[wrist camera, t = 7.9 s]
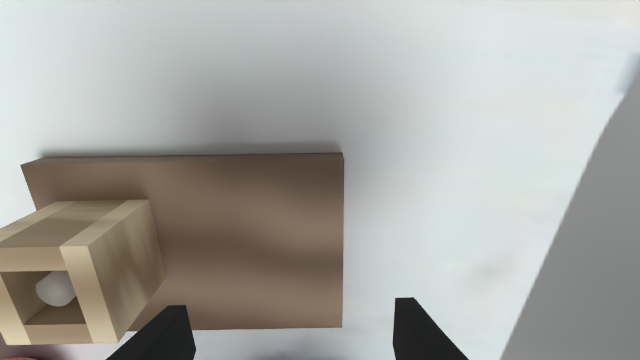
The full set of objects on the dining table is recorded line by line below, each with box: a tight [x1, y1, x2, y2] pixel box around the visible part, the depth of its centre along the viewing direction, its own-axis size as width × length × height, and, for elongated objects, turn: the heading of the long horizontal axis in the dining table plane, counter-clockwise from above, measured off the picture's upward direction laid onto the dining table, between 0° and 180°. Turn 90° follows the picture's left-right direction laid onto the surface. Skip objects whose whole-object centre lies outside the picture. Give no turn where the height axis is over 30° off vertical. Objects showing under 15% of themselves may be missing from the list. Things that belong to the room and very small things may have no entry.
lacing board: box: [20, 153, 344, 331], centre depth 17 cm, size 12×18×6 cm, turn 91°
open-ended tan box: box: [0, 199, 166, 345], centre depth 16 cm, size 5×5×5 cm
